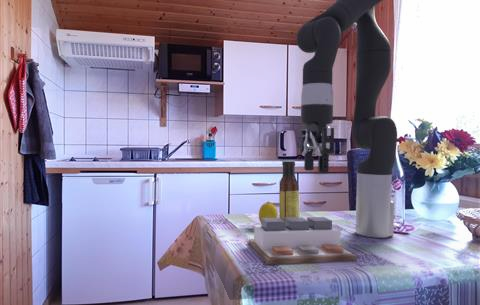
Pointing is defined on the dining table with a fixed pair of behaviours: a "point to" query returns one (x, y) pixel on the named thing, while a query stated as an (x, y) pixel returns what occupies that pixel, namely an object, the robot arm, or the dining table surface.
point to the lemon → (268, 211)
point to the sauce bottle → (288, 192)
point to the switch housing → (295, 238)
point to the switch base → (303, 254)
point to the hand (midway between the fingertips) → (315, 171)
